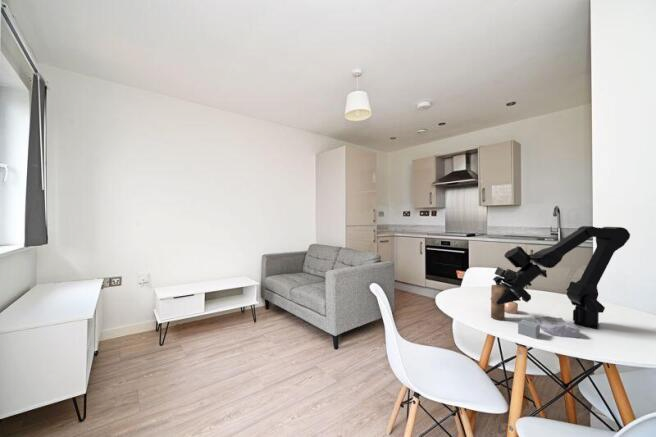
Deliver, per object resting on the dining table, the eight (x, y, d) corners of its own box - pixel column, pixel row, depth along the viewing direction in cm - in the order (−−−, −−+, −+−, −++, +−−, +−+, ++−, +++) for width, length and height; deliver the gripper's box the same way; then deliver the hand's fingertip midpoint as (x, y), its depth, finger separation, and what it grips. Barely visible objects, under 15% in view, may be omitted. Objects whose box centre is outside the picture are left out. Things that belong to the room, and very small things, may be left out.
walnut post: (506, 318, 106) (506, 286, 106) (502, 321, 103) (502, 288, 103) (493, 315, 110) (493, 284, 110) (489, 317, 107) (489, 286, 107)
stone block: (551, 342, 91) (584, 338, 89) (547, 327, 91) (580, 324, 90) (531, 329, 103) (560, 325, 101) (528, 316, 103) (557, 313, 101)
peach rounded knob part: (519, 312, 114) (519, 303, 114) (515, 315, 111) (515, 305, 111) (505, 309, 118) (505, 300, 118) (501, 311, 115) (502, 302, 115)
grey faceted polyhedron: (539, 335, 92) (539, 323, 92) (535, 339, 89) (535, 327, 89) (522, 330, 96) (522, 319, 96) (518, 334, 93) (518, 322, 93)
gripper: (498, 257, 115) (470, 281, 117) (522, 265, 97) (489, 293, 99) (517, 276, 114) (489, 300, 116) (546, 287, 95) (512, 316, 97)
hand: (494, 301), depth 107 cm, fingers closed on walnut post, 5 cm apart
